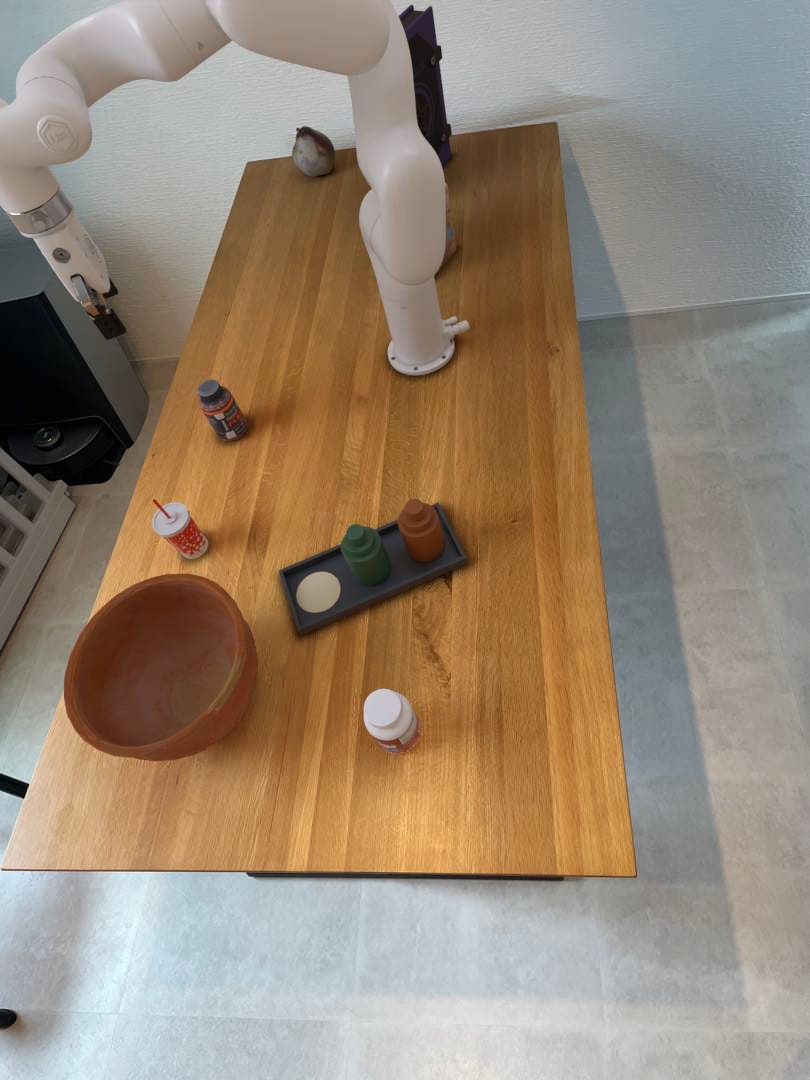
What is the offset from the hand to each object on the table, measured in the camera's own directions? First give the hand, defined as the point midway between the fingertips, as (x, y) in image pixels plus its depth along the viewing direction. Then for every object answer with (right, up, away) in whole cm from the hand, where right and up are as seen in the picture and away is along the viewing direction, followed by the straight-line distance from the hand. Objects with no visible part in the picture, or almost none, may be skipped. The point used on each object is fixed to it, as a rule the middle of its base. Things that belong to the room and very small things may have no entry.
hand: (112, 315), depth 101 cm
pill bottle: (+42, -59, -9) cm, 73 cm away
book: (+46, +49, +55) cm, 87 cm away
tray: (+38, -38, +4) cm, 54 cm away
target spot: (+30, -41, +4) cm, 51 cm away
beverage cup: (+8, -35, +13) cm, 38 cm away
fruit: (+22, +57, +66) cm, 90 cm away
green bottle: (+38, -38, +4) cm, 54 cm away
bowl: (+14, -56, -1) cm, 58 cm away
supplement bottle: (+11, -13, +26) cm, 31 cm away
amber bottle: (+46, -34, +4) cm, 58 cm away
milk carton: (+47, +25, +41) cm, 67 cm away
